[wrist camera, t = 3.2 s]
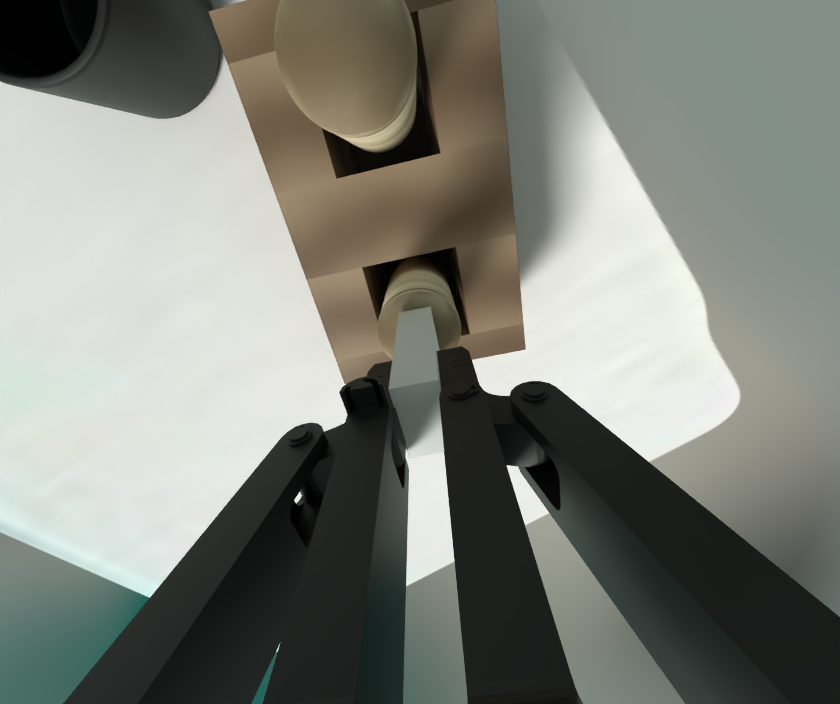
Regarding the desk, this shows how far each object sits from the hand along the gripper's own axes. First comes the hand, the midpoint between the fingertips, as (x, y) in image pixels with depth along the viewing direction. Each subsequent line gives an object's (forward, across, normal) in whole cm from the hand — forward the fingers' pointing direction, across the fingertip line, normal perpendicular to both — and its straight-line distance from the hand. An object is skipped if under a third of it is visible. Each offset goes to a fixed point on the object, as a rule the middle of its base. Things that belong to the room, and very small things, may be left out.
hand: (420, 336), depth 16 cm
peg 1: (+6, 0, +10) cm, 12 cm away
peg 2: (+8, 0, 0) cm, 8 cm away
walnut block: (+13, 0, +5) cm, 14 cm away
